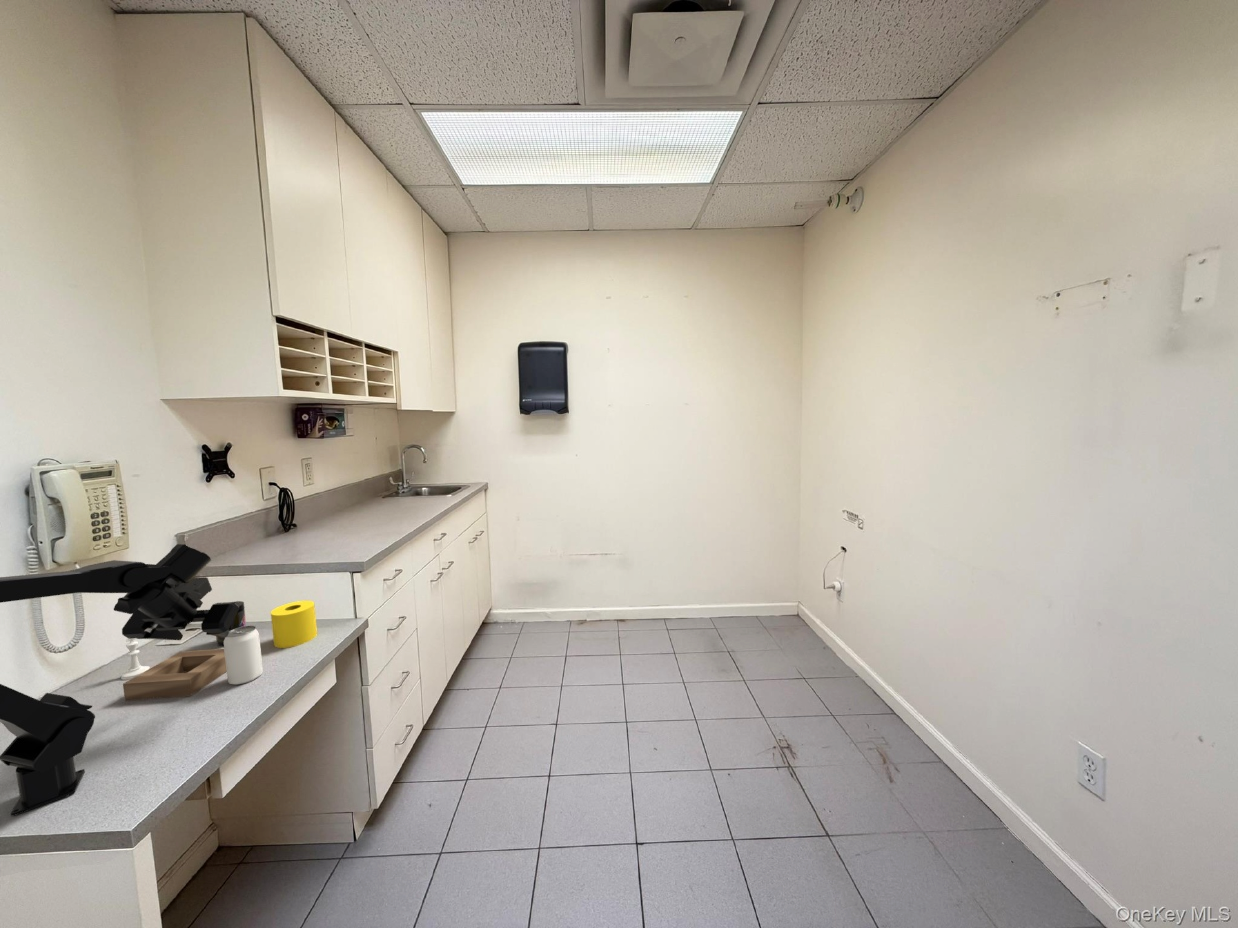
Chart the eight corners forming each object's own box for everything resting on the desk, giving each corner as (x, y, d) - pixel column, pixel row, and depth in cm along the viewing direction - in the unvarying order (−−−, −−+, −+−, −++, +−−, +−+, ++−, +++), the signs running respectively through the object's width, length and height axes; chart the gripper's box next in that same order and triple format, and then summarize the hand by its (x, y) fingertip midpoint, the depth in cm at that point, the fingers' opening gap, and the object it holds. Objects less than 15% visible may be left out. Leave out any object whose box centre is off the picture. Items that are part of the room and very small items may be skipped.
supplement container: (234, 646, 121) (230, 610, 120) (209, 647, 121) (205, 611, 120) (253, 634, 128) (250, 600, 127) (230, 635, 128) (226, 601, 127)
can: (242, 686, 102) (237, 638, 100) (220, 684, 103) (215, 636, 102) (269, 671, 108) (264, 625, 107) (249, 669, 109) (244, 623, 108)
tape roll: (283, 651, 118) (279, 618, 117) (267, 642, 123) (264, 610, 122) (323, 635, 126) (320, 604, 125) (307, 627, 131) (304, 598, 131)
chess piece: (118, 676, 107) (112, 638, 106) (146, 666, 112) (141, 629, 111) (125, 681, 105) (119, 642, 104) (153, 671, 109) (148, 633, 108)
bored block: (191, 695, 99) (189, 679, 98) (125, 700, 98) (122, 683, 97) (239, 662, 113) (238, 647, 112) (182, 666, 111) (180, 651, 111)
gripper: (233, 566, 95) (265, 601, 106) (134, 570, 92) (178, 606, 103) (205, 614, 87) (243, 646, 98) (96, 620, 84) (148, 653, 95)
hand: (204, 636), depth 99 cm, fingers open, 9 cm apart
